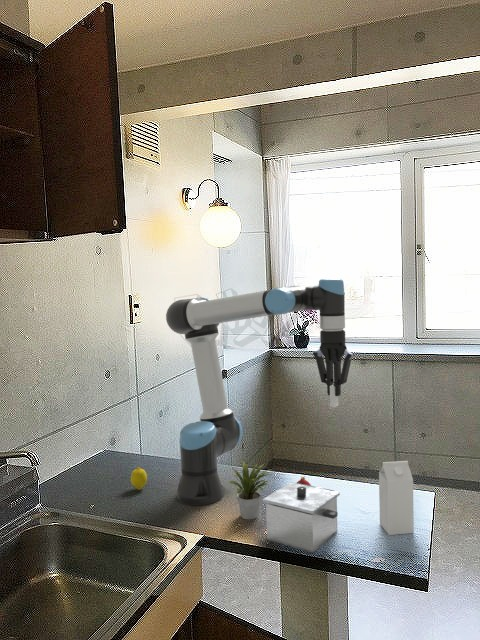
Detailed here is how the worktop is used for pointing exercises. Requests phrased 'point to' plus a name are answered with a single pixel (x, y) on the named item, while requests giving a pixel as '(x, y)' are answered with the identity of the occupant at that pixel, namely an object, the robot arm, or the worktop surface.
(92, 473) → the worktop surface
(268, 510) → the white hinged box
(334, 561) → the worktop surface
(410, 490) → the milk carton
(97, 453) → the worktop surface
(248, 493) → the house plant
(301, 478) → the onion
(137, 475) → the fruit
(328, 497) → the lid
